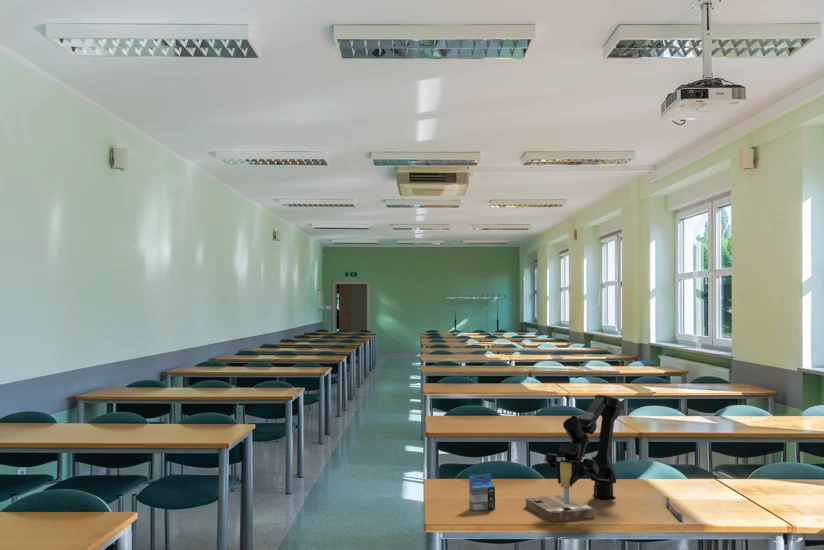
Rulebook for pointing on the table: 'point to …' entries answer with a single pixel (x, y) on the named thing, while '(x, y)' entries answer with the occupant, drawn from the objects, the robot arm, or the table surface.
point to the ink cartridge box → (481, 493)
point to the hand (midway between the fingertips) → (564, 484)
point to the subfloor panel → (559, 508)
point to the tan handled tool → (565, 479)
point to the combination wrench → (674, 510)
